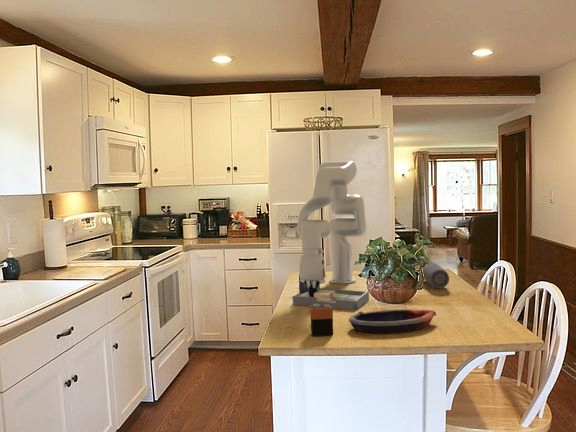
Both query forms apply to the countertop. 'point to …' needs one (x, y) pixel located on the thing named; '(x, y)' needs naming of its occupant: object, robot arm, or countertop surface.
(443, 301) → the countertop surface
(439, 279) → the bluetooth speaker
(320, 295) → the beech block
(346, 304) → the board
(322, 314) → the battery
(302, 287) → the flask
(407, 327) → the dish
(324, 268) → the robot arm
